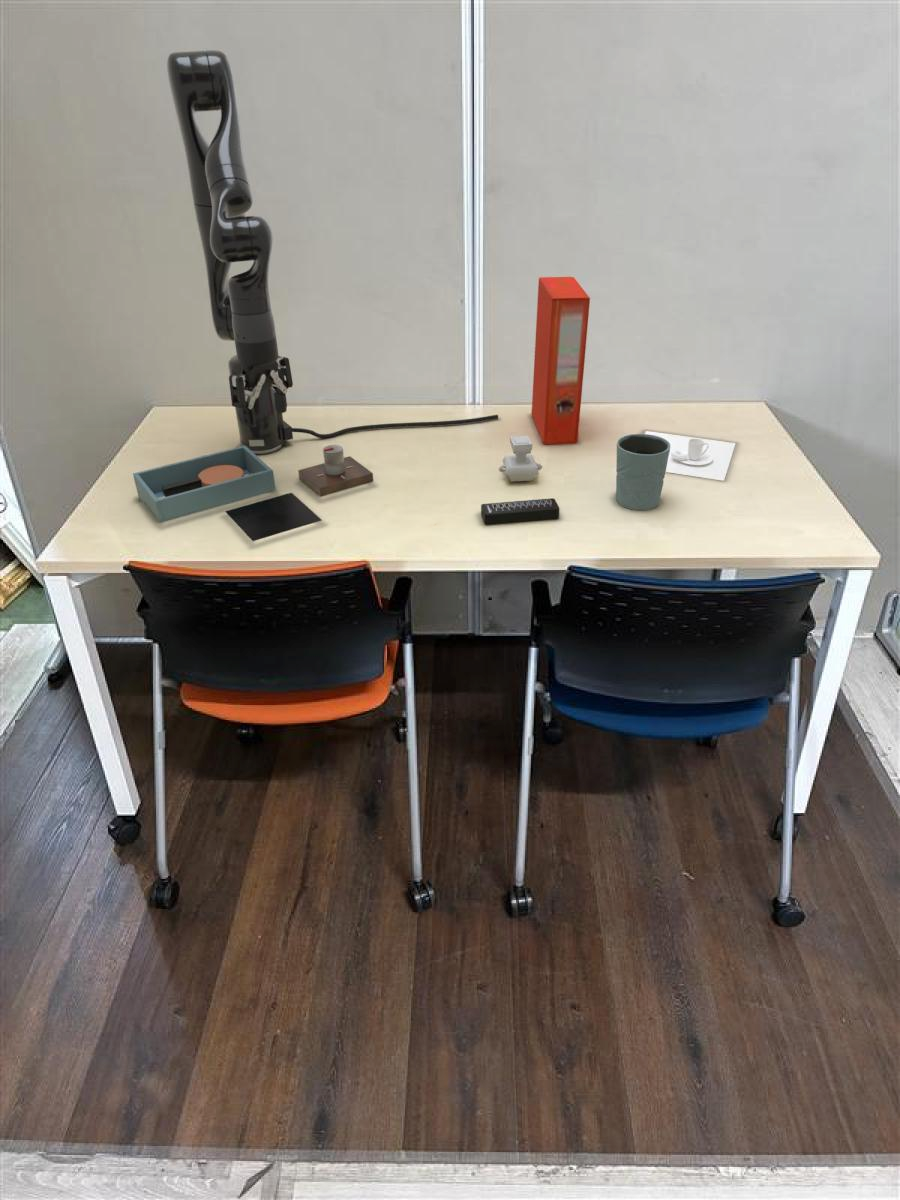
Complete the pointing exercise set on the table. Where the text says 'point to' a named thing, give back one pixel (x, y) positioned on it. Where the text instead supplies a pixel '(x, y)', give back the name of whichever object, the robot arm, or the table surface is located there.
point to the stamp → (520, 461)
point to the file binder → (559, 358)
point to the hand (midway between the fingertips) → (266, 418)
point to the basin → (209, 495)
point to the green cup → (640, 470)
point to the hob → (272, 516)
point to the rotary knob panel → (335, 477)
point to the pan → (204, 479)
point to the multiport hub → (519, 511)
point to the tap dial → (334, 460)
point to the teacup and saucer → (697, 456)
